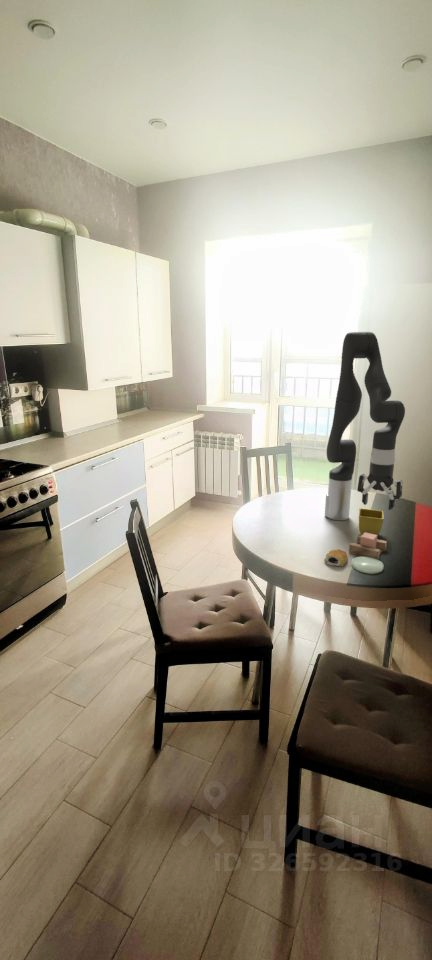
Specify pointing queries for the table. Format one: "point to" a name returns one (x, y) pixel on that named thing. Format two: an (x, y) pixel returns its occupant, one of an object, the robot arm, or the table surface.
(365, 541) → the part
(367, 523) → the flower pot
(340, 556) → the pastry
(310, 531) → the table surface
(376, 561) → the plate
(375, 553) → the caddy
